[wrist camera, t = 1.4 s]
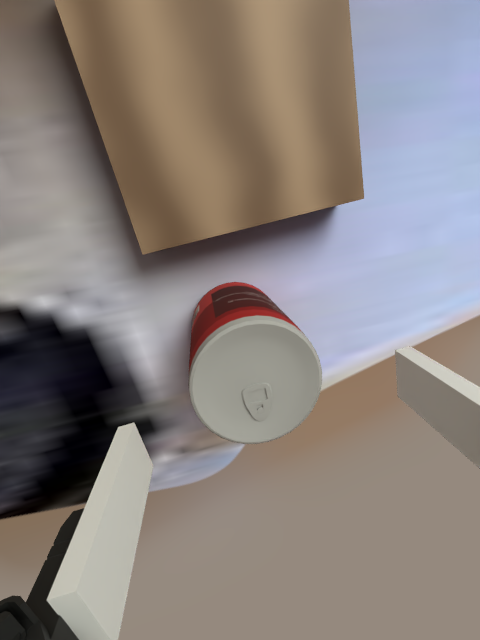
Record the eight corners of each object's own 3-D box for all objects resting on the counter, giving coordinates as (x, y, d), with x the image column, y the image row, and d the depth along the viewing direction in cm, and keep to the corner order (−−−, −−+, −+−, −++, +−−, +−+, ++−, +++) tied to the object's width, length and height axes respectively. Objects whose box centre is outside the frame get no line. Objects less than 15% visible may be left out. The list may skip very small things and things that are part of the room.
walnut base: (151, 249, 23) (142, 254, 19) (65, -7, 18) (30, -69, 14) (338, 202, 24) (364, 198, 20) (310, -56, 19) (338, -127, 15)
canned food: (217, 375, 28) (228, 465, 17) (174, 305, 25) (158, 362, 15) (288, 339, 28) (342, 408, 17) (253, 264, 25) (292, 293, 14)
